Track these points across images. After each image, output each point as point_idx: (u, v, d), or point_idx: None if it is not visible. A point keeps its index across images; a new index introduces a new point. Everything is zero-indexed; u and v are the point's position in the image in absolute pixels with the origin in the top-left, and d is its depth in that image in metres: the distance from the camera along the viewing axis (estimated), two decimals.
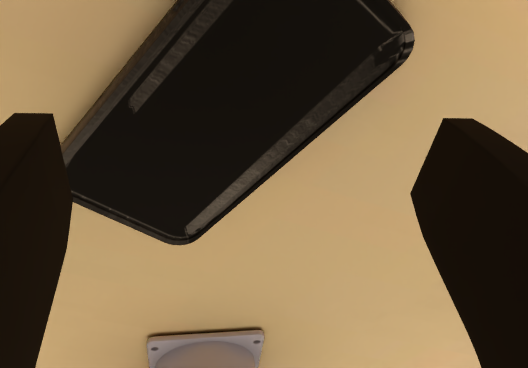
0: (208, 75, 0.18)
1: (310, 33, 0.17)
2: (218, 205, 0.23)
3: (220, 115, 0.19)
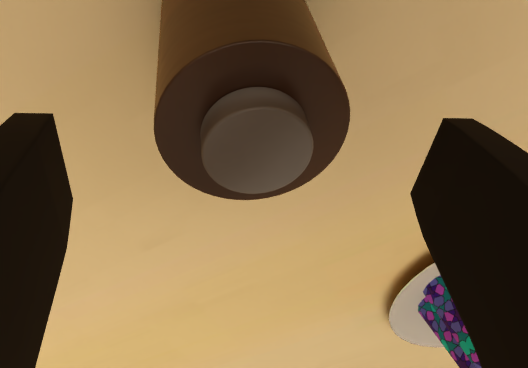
0: None
1: None
2: None
3: None
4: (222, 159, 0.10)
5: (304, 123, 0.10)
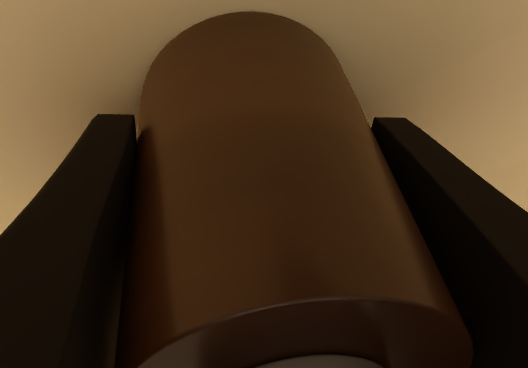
0: None
1: None
2: None
3: None
4: None
5: None
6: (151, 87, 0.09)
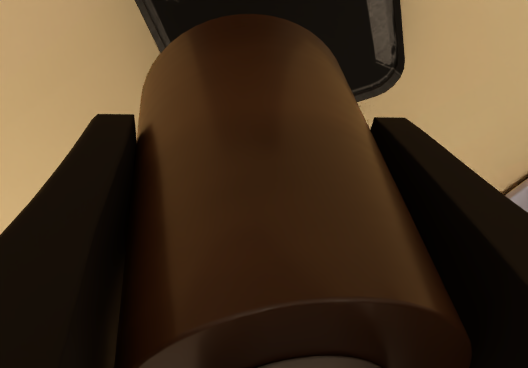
0: None
1: None
2: (378, 0, 0.15)
3: None
4: None
5: None
6: (151, 88, 0.09)
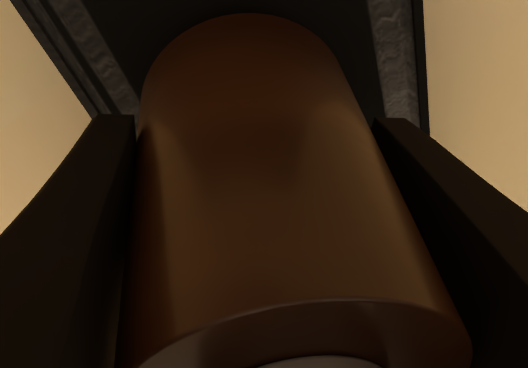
0: None
1: None
2: None
3: None
4: None
5: None
6: (151, 88, 0.09)
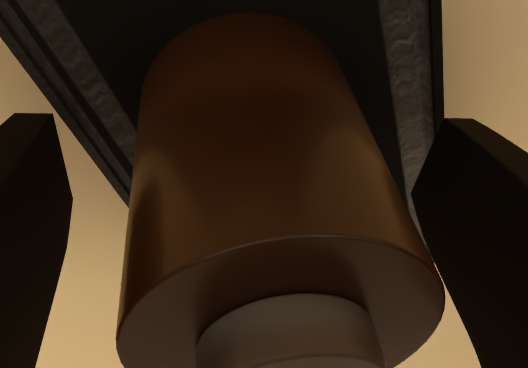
0: None
1: None
2: None
3: None
4: None
5: (380, 362, 0.06)
6: (152, 65, 0.09)
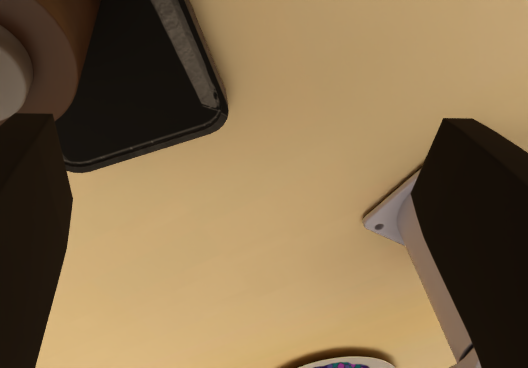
0: None
1: None
2: (189, 56, 0.18)
3: None
4: None
5: (1, 47, 0.10)
6: None
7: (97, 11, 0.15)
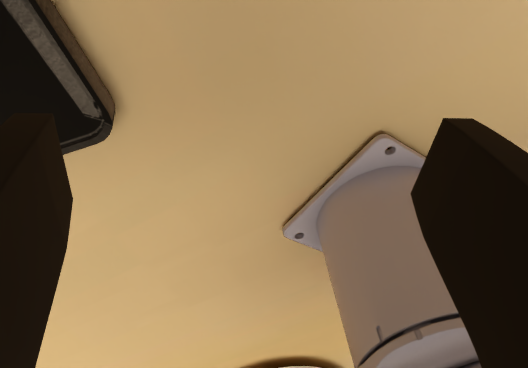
0: None
1: None
2: (60, 65, 0.17)
3: None
4: None
5: None
6: None
7: None
